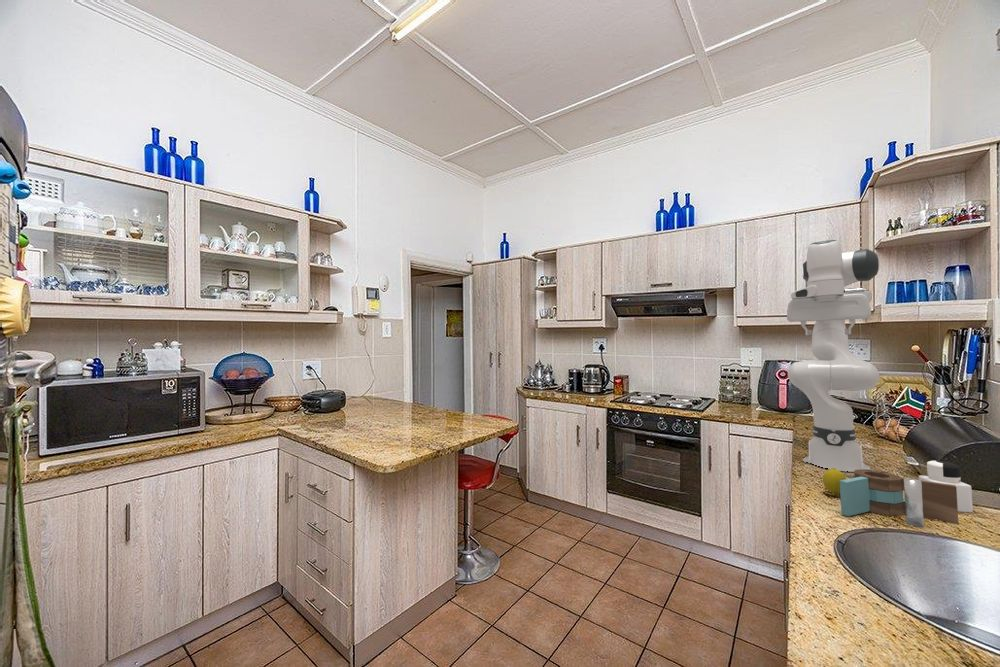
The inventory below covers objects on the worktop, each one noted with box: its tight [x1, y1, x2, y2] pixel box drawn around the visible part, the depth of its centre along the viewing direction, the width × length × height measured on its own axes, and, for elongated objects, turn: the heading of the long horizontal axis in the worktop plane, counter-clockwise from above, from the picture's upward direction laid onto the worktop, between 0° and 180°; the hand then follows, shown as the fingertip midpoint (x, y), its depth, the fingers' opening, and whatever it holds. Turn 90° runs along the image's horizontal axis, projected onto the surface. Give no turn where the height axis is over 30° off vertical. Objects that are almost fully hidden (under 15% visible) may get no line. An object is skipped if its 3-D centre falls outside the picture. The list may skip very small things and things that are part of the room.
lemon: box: [822, 468, 847, 496], centre depth 116 cm, size 6×6×8 cm
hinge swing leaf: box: [840, 476, 905, 517], centre depth 105 cm, size 19×9×9 cm, turn 109°
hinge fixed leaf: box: [854, 469, 959, 525], centre depth 103 cm, size 9×19×9 cm, turn 49°
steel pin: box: [903, 477, 925, 528], centre depth 96 cm, size 3×3×11 cm
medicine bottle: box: [918, 460, 974, 514], centre depth 107 cm, size 7×7×12 cm
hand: (827, 335), depth 122 cm, fingers open, 8 cm apart
